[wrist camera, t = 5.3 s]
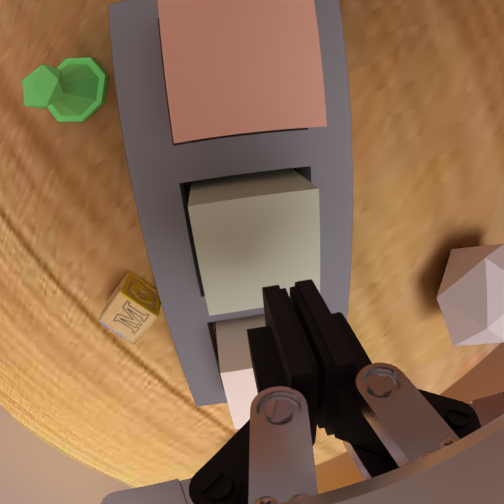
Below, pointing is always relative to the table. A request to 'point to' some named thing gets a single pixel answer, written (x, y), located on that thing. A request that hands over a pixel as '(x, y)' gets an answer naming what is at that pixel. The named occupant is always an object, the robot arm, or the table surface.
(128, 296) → the alphabet block
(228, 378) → the cream block
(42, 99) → the game piece
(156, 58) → the board
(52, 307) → the table surface
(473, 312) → the die
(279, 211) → the green block
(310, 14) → the terracotta block
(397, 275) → the table surface
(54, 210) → the table surface
